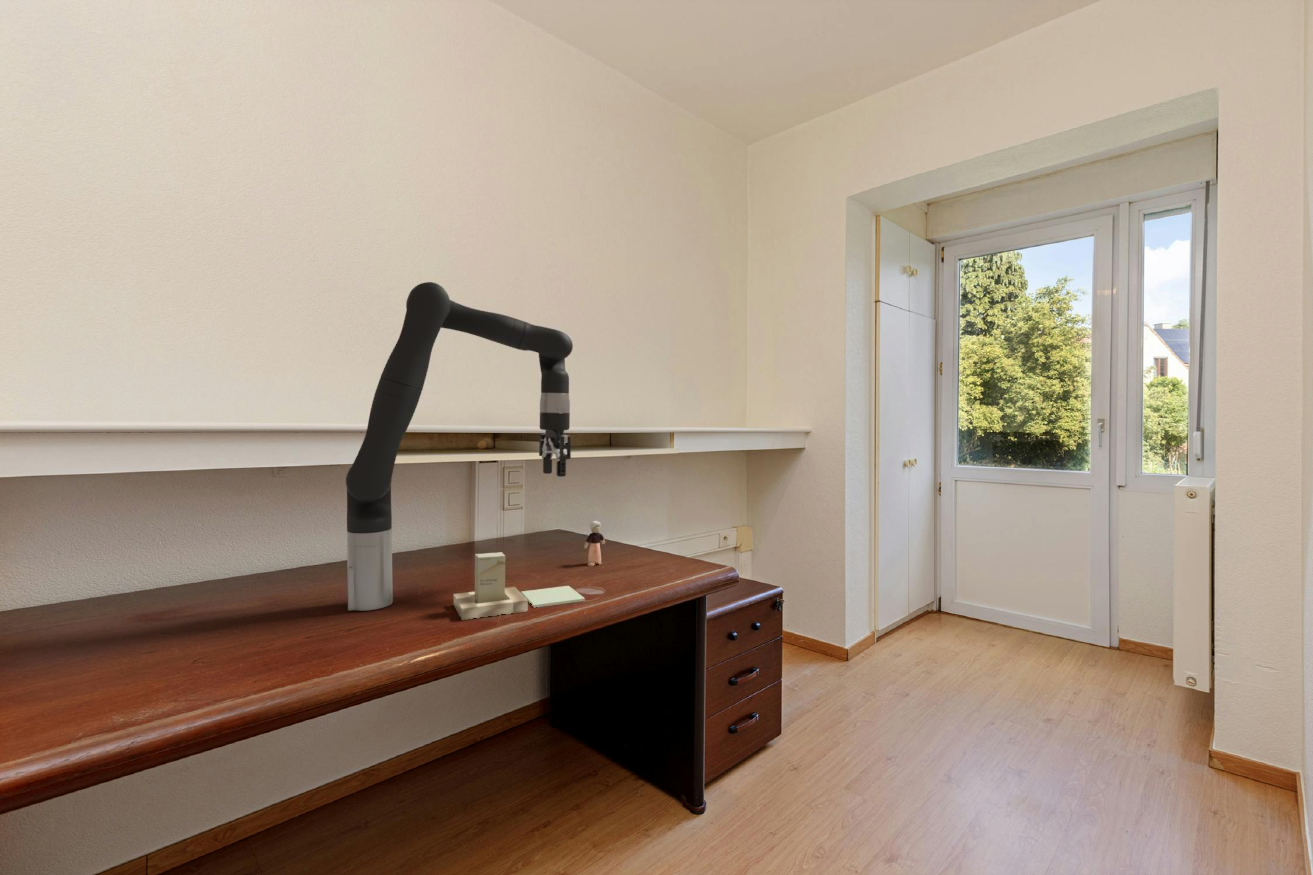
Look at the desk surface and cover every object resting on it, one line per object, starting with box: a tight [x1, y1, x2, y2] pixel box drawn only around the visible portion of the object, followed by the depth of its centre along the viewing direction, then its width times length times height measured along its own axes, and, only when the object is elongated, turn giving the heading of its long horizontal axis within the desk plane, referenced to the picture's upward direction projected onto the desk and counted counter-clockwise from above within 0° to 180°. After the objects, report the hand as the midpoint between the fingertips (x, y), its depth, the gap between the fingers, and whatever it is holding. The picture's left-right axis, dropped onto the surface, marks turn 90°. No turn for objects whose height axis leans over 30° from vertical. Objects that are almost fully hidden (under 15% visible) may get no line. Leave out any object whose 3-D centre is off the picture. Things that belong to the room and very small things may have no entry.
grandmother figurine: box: [583, 520, 606, 567], centre depth 181 cm, size 8×4×13 cm, turn 148°
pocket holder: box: [453, 586, 529, 621], centre depth 140 cm, size 14×12×2 cm
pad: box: [520, 585, 586, 609], centre depth 148 cm, size 12×12×1 cm
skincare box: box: [474, 551, 506, 604], centre depth 139 cm, size 6×4×12 cm
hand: (554, 474), depth 159 cm, fingers open, 8 cm apart
